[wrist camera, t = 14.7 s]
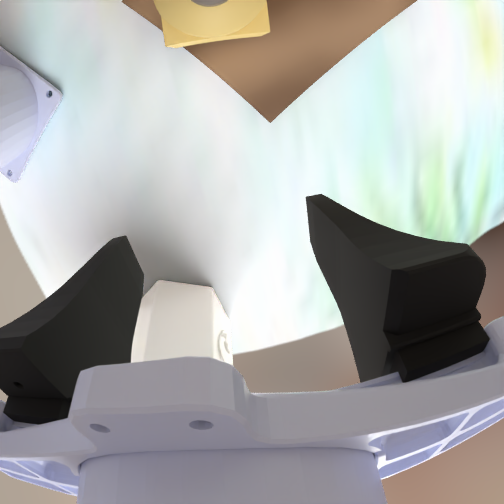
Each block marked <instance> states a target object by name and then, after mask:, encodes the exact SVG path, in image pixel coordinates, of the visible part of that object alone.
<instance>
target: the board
mask: <svg viewBox="0 0 504 504" xmlns="http://www.w3.org/2000/svg"><path fill="white" fill-rule="evenodd" d="M416 1H417V0H267V8H268V16H269V25H270V32H269V33H267V34H265V35H263V36H259V37H248V38H238V39H229V40H221V41H214V42H207V43H201V44H195V45H189V46H184V48H185V49H186V50H188V51H189V52H190V53H191V54H192V55H194V56H195V57H196V58H197V59H199V60H200V61H201V62H202V63H203V64H205V65H206V66H207V67H208V68H209V69H211V70H212V71H213V72H214V73H215V74H217V75H218V76H219V77H220V78H221V79H222V80H224V81H225V82H226V83H227V84H228V85H229V86H230V87H232V88H233V89H234V90H235V91H236V92H237V93H238V94H239V95H241V96H242V97H243V98H244V99H245V100H246V101H247V102H248V103H249V104H250V105H252V106H253V107H254V108H255V109H256V110H257V111H258V112H259V113H260V114H261V115H262V116H263V117H264V118H266V119H267V120H268V121H269V122H270V123H271V122H272V121H273V120H274V119H275V118H276V117H277V116H278V115H279V114H280V113H281V112H282V111H284V110H285V109H286V108H287V107H288V106H289V105H290V104H291V103H292V102H293V101H294V100H296V99H297V98H298V97H299V96H300V95H301V94H302V93H303V92H304V91H306V90H307V89H308V88H309V87H310V86H311V85H312V84H313V83H315V82H316V81H317V80H318V79H319V78H320V77H321V76H323V75H324V74H325V73H326V72H327V71H328V70H330V69H331V68H332V67H333V66H334V65H335V64H337V63H338V62H339V61H340V60H341V59H343V58H344V57H345V56H346V55H347V54H349V53H350V52H351V51H352V50H353V49H355V48H356V47H357V46H358V45H360V44H361V43H362V42H363V41H365V40H366V39H367V38H368V37H370V36H371V35H372V34H373V33H375V32H376V31H377V30H378V29H380V28H381V27H382V26H384V25H385V24H386V23H387V22H389V21H390V20H391V19H393V18H394V17H395V16H397V15H398V14H399V13H401V12H402V11H403V10H405V9H406V8H407V7H409V6H410V5H412V4H413V3H414V2H416ZM122 2H123V3H124V4H126V5H127V6H129V7H130V8H131V9H133V10H134V11H136V12H137V13H138V14H140V15H141V16H143V17H144V18H145V19H147V20H148V21H150V22H151V23H152V24H154V25H155V26H156V27H158V28H159V29H160V30H162V31H163V27H162V20H161V15H160V14H159V12H158V10H157V8H156V6H155V3H154V0H123V1H122Z"/></svg>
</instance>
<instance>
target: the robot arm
mask: <svg viewBox="0 0 504 504" xmlns="http://www.w3.org/2000/svg"><path fill="white" fill-rule="evenodd" d="M49 91H52V96H51V97H50V96H49ZM62 97H63V95H62V93H61V91H60V90H58V89H57V88H56V87H54V86H53V85H52V84H50V83H49V82H48V81H46V80H45V79H44V78H42V77H41V76H40V75H38V74H37V73H36V72H34V71H33V70H32V69H30V68H29V67H28V66H26V65H25V64H24V63H22V62H21V61H20V60H18V59H17V58H16V57H14V56H13V55H12V54H10V53H9V52H8V51H6V50H5V49H4V48H2V47H1V46H0V172H1V173H2V174H3V175H5V176H6V177H7V178H8V179H10V180H11V181H12V182H15V183H16V182H18V181H19V180H20V178H21V176H22V174H23V172H24V169H25V167H26V165H27V163H28V161H29V159H30V157H31V155H32V153H33V151H34V149H35V147H36V145H37V143H38V141H39V139H40V137H41V135H42V133H43V132H44V130H45V128H46V126H47V124H48V123H49V121H50V119H51V117H52V116H53V114H54V112H55V111H56V109H57V107H58V106H59V104H60V102H61V101H62ZM9 170H10V171H11V172H12V174H11V173H10V171H9ZM306 204H307V213H308V223H309V233H310V242H311V245H312V248H313V251H314V254H315V257H316V260H317V263H318V265H319V267H320V269H321V271H322V273H323V275H324V277H325V279H326V281H327V284H328V286H329V288H330V290H331V292H332V294H333V296H334V298H335V300H336V302H337V305H338V307H339V310H340V312H341V315H342V318H343V321H344V325H345V328H346V330H347V334H348V337H349V341H350V344H351V348H352V351H353V355H354V358H355V362H356V366H357V370H358V373H359V378H360V382H361V383H358V384H354V385H350V386H347V387H343V388H339V389H335V390H331V391H316V392H292V393H251V392H250V391H249V390H248V388H247V385H246V383H245V380H244V378H243V376H242V375H241V374H240V373H239V372H238V371H237V370H236V369H235V368H234V367H233V366H232V365H231V364H229V363H226V362H223V361H220V360H217V359H214V358H211V357H198V356H185V357H177V358H169V359H161V360H152V361H143V362H134V363H131V352H132V343H133V337H134V333H135V328H136V323H137V318H138V314H139V309H140V304H141V300H142V294H143V281H144V274H143V272H142V270H141V267H140V265H139V263H138V261H137V259H136V257H135V254H134V252H133V250H132V248H131V246H130V243H129V241H128V239H127V236H122V237H118V238H114V239H112V240H111V241H109V242H108V243H107V244H106V245H104V246H103V247H102V248H101V249H100V250H99V251H98V252H97V253H96V254H95V255H94V256H93V257H92V258H91V259H90V260H89V261H88V262H87V263H86V264H85V265H84V266H83V267H82V268H81V269H80V270H78V271H77V272H76V273H75V274H74V275H73V276H72V277H71V278H70V279H69V280H68V281H67V282H66V283H65V284H64V285H62V286H61V287H60V288H59V289H58V290H57V291H55V292H54V293H53V294H52V295H51V296H49V297H48V298H47V299H45V300H44V301H43V302H41V303H40V304H39V305H37V306H36V307H35V308H33V309H32V310H30V311H29V312H27V313H26V314H24V315H22V316H21V317H19V318H17V319H16V320H14V321H13V322H11V323H9V324H7V325H5V326H3V327H1V328H0V389H1V390H2V391H3V392H4V393H5V394H6V395H8V399H7V402H4V401H2V400H0V471H2V472H3V473H5V474H7V475H9V476H10V477H13V478H16V479H19V480H22V481H25V482H28V483H32V484H35V485H39V486H42V487H45V488H48V489H52V490H55V491H59V492H62V493H66V494H70V495H73V496H77V504H387V501H386V497H385V493H384V489H383V486H382V483H381V480H382V479H384V478H387V477H389V476H392V475H394V474H397V473H399V472H401V471H404V470H406V469H409V468H411V467H413V466H416V465H418V464H420V463H422V462H424V461H426V460H429V459H431V458H433V457H435V456H437V455H439V454H441V453H443V452H444V451H446V450H448V449H450V448H452V447H454V446H456V445H458V444H460V443H461V442H463V441H465V440H467V439H469V438H470V437H472V436H474V435H476V434H477V433H479V432H481V431H483V430H484V429H486V428H488V427H489V426H491V425H493V424H494V423H496V422H497V421H499V420H500V419H503V418H504V316H502V317H500V318H498V319H496V320H494V321H492V322H490V323H489V324H488V325H486V327H485V328H484V329H483V327H482V326H481V324H480V323H479V320H480V319H481V314H480V313H479V312H478V310H477V309H476V305H477V303H478V300H479V297H480V295H481V292H482V289H483V286H484V282H485V277H486V267H485V265H484V263H483V261H482V260H481V259H480V257H479V256H478V255H477V254H476V253H475V252H474V251H473V250H472V249H471V248H470V247H469V245H468V244H463V243H454V242H445V241H438V240H433V239H427V238H422V237H418V236H414V235H410V234H407V233H403V232H400V231H397V230H394V229H391V228H388V227H386V226H383V225H380V224H378V223H376V222H373V221H371V220H369V219H367V218H365V217H363V216H361V215H359V214H357V213H355V212H353V211H351V210H349V209H347V208H346V207H344V206H342V205H340V204H339V203H337V202H335V201H333V200H332V199H330V198H328V197H326V196H324V195H322V194H318V195H313V196H308V197H306Z"/></svg>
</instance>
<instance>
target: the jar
mask: <svg viewBox="0 0 504 504" xmlns="http://www.w3.org/2000/svg"><path fill="white" fill-rule="evenodd" d="M185 356H198V357H211V358H214V359H217V360H220V361H223V362H226V363H229V364H231V365H232V366H233V358H232V342H231V326H230V320H229V318H228V316H227V315H226V313H225V311H224V309H223V307H222V305H221V303H220V301H219V299H218V297H217V295H216V293H215V291H214V289H213V288H212V287H208V286H201V285H193V284H186V283H178V282H171V281H164V280H158V281H157V282H156V283H155V284H154V285H153V286H152V287H151V289H150V290H149V291H148V292H147V293H146V294H145V295H144V296H143V297H142V300H141V304H140V309H139V314H138V318H137V323H136V328H135V333H134V337H133V343H132V352H131V363H134V362H143V361H152V360H161V359H169V358H177V357H185Z"/></svg>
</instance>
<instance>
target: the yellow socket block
mask: <svg viewBox="0 0 504 504" xmlns="http://www.w3.org/2000/svg"><path fill="white" fill-rule="evenodd" d="M154 3H155V6H156V8H157V10H158V12H159V14H160V15H161V20H162V27H163V34H164V40H165V46H166V47H173V48H179V47H184V46H189V45H195V44H201V43H207V42H214V41H221V40H229V39H238V38H248V37H259V36H263V35H265V34H267V33H269V32H270V25H269V16H268V8H267V0H154Z"/></svg>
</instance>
